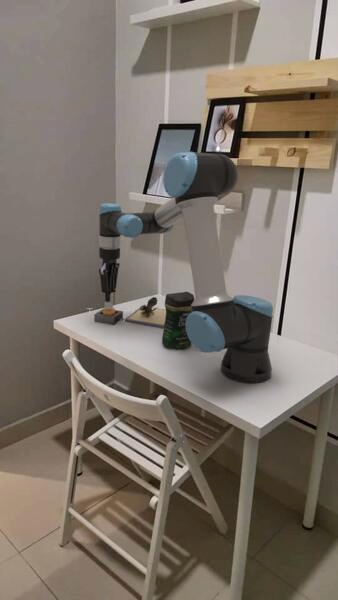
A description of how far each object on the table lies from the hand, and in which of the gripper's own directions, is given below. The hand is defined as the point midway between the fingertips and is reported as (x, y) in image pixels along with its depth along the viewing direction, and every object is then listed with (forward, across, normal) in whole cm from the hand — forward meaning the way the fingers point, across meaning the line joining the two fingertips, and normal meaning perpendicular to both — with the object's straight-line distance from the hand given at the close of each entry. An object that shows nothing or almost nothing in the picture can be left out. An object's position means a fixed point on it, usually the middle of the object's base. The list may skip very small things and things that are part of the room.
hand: (108, 309), depth 178 cm
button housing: (+5, 0, 0) cm, 5 cm away
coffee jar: (+5, +12, +31) cm, 34 cm away
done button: (+3, 0, 0) cm, 3 cm away
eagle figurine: (+4, -10, +12) cm, 16 cm away
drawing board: (+4, -10, +14) cm, 18 cm away
